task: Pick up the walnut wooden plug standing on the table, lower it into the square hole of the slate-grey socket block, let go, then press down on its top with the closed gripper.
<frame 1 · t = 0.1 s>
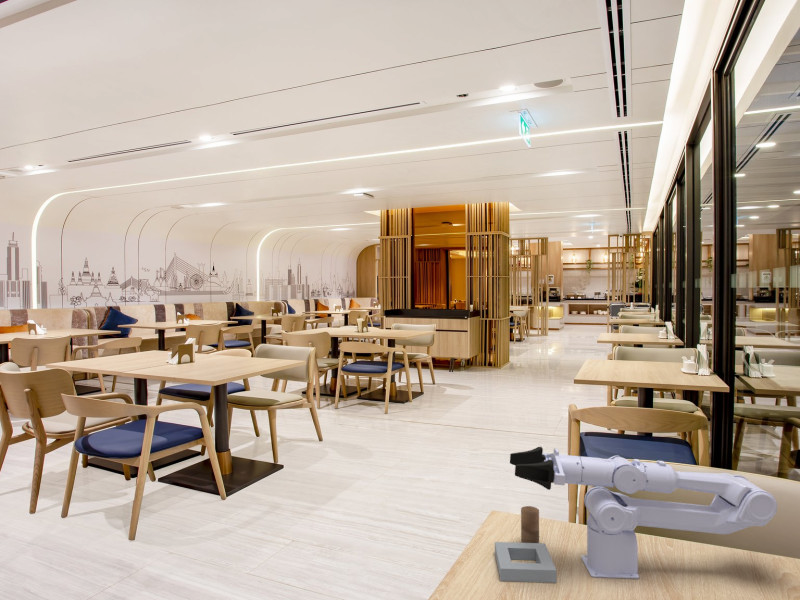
hand: (512, 464, 109), 21 cm above the table, tool horizontal, fingers open, 7 cm apart
plug: (530, 544, 118), on the table
socket block: (523, 567, 108), on the table
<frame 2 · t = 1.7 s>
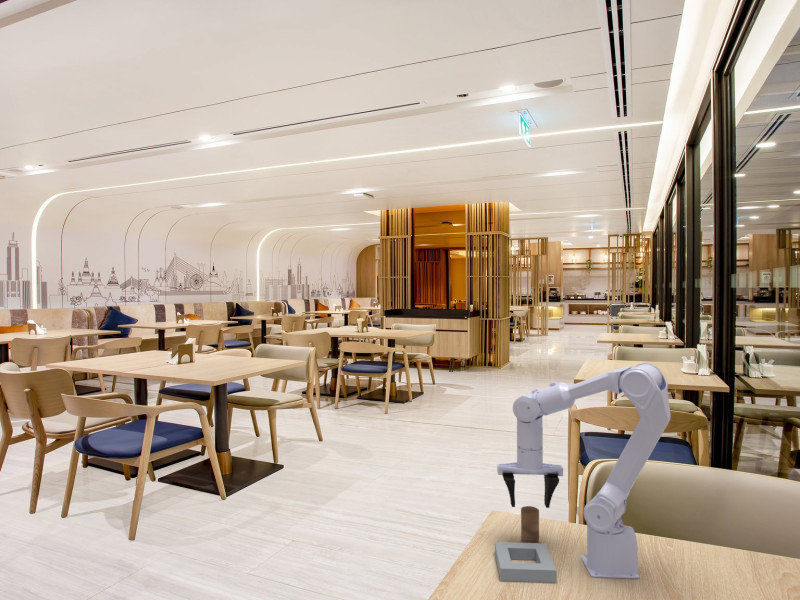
hand: (529, 505, 118), 9 cm above the table, tool pointing down, fingers open, 7 cm apart
nothing on the table moved.
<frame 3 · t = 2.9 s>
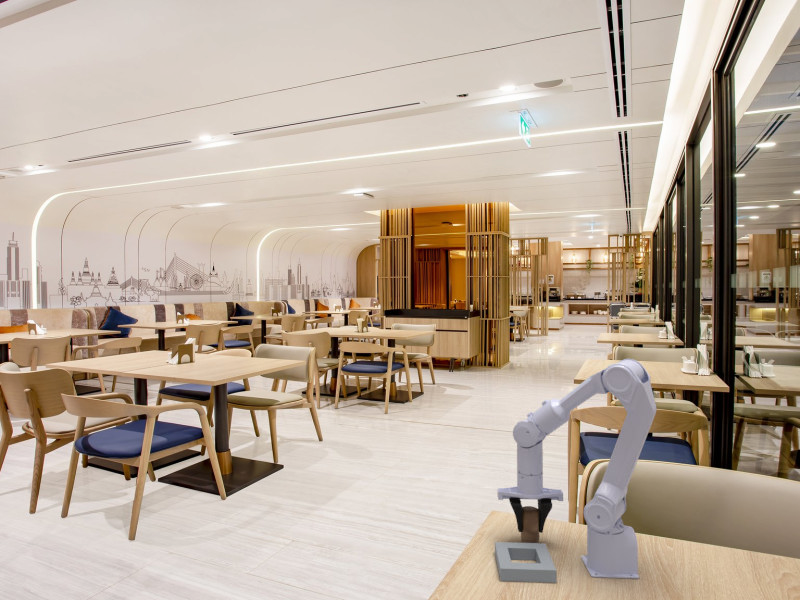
hand: (530, 530, 118), 3 cm above the table, tool pointing down, fingers closed on plug, 4 cm apart
plug: (530, 544, 118), on the table, touching gripper
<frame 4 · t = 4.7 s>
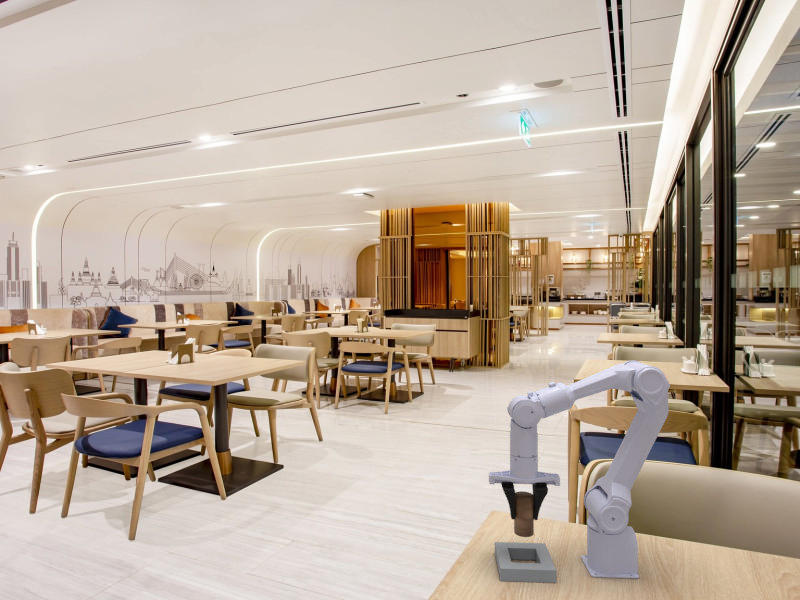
hand: (523, 517, 109), 10 cm above the table, tool pointing down, fingers closed on plug, 4 cm apart
plug: (523, 532, 109), point 7 cm above the table, touching gripper
when the fingers open (3 cm above the table, at t = 6.8 s): plug stays where it is, resting in socket block.
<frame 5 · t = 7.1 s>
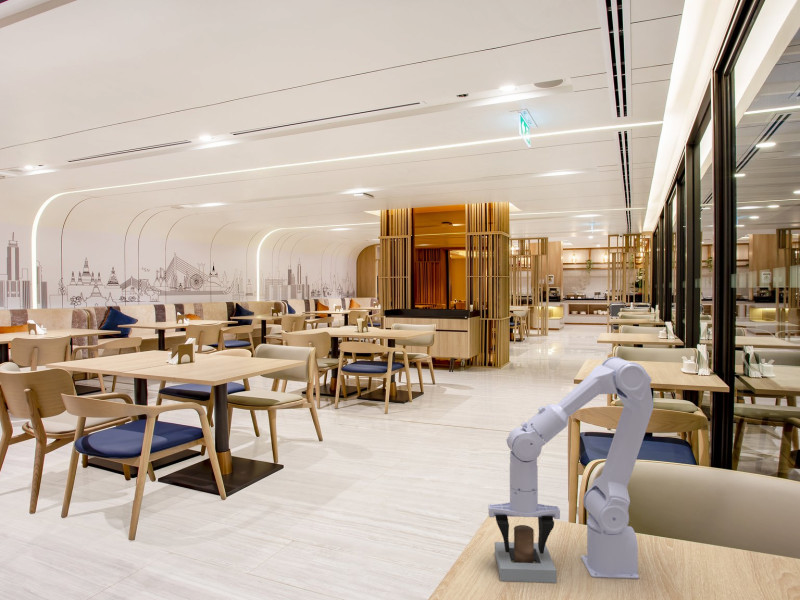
hand: (523, 550, 108), 4 cm above the table, tool pointing down, fingers open, 6 cm apart
plug: (523, 567, 109), resting in socket block
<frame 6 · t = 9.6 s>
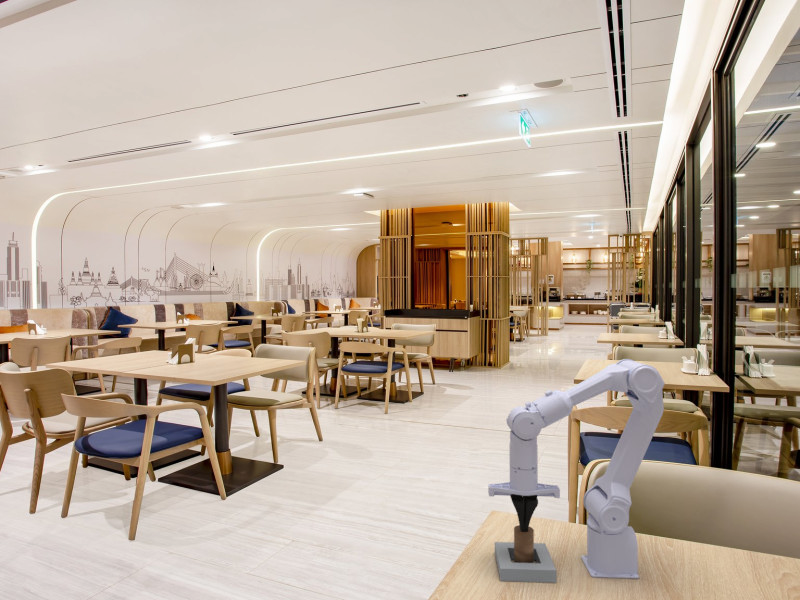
hand: (523, 529, 108), 8 cm above the table, tool pointing down, fingers closed, pressing on plug
plug: (523, 567, 109), resting in socket block, touching gripper
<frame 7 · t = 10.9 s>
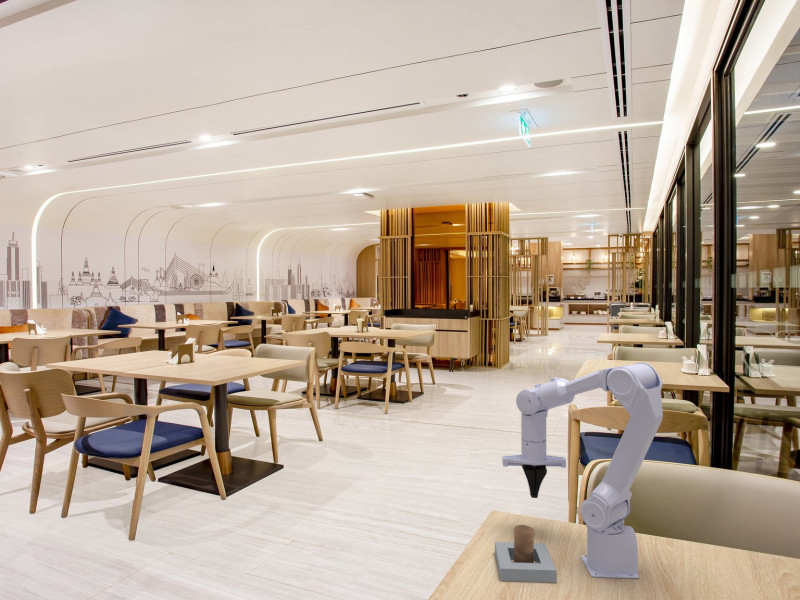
hand: (533, 496, 122), 9 cm above the table, tool pointing down, fingers closed
plug: (523, 567, 109), resting in socket block
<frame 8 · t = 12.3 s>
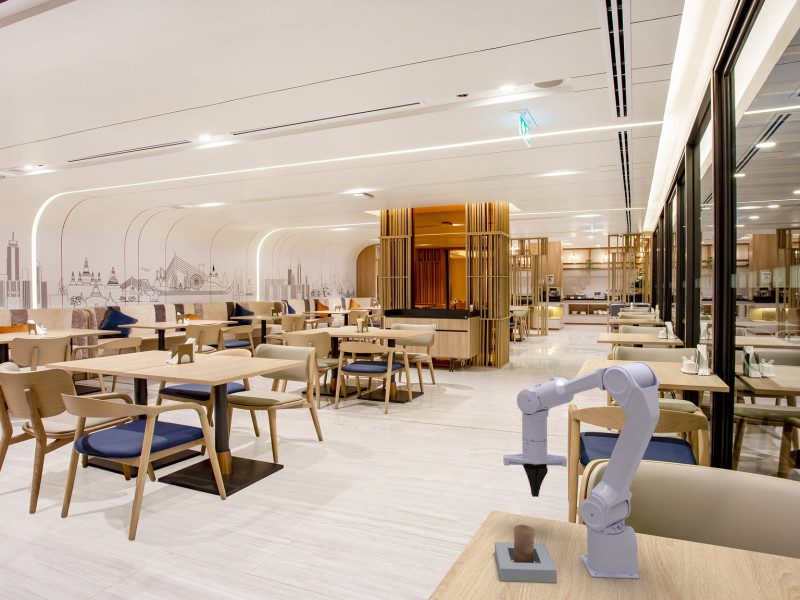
hand: (534, 495, 123), 9 cm above the table, tool pointing down, fingers closed
nothing on the table moved.
at the end: plug 0.1 cm off-centre on the socket block, point 0.0 cm above the socket block's base; plug tilted 0°; the gripper is holding nothing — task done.
